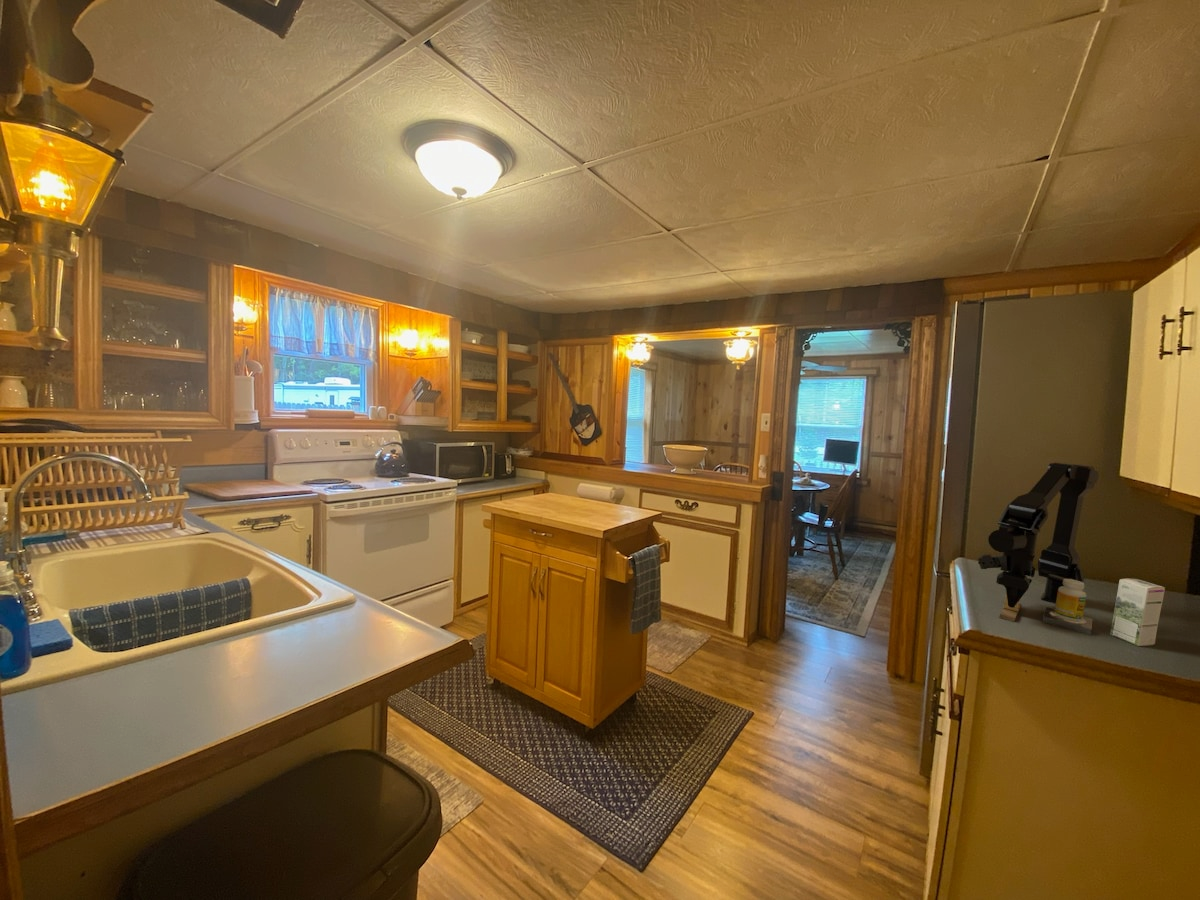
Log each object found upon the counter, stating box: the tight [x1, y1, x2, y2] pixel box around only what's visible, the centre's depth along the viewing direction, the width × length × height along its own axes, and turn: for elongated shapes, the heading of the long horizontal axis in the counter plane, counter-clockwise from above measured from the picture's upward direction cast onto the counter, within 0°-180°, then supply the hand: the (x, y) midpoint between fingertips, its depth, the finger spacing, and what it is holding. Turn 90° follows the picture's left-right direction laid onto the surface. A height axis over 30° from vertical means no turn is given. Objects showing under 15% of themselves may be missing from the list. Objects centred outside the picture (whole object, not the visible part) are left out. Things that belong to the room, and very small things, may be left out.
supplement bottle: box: [1054, 579, 1087, 621], centre depth 130 cm, size 5×5×10 cm
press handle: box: [1002, 592, 1021, 612], centre depth 135 cm, size 3×3×5 cm
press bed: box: [1042, 606, 1093, 636], centre depth 130 cm, size 9×9×2 cm
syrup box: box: [1109, 577, 1166, 647], centre depth 122 cm, size 6×6×14 cm
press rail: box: [999, 603, 1022, 623], centre depth 135 cm, size 14×3×1 cm, turn 135°
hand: (1011, 605), depth 135 cm, fingers closed on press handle, 3 cm apart
